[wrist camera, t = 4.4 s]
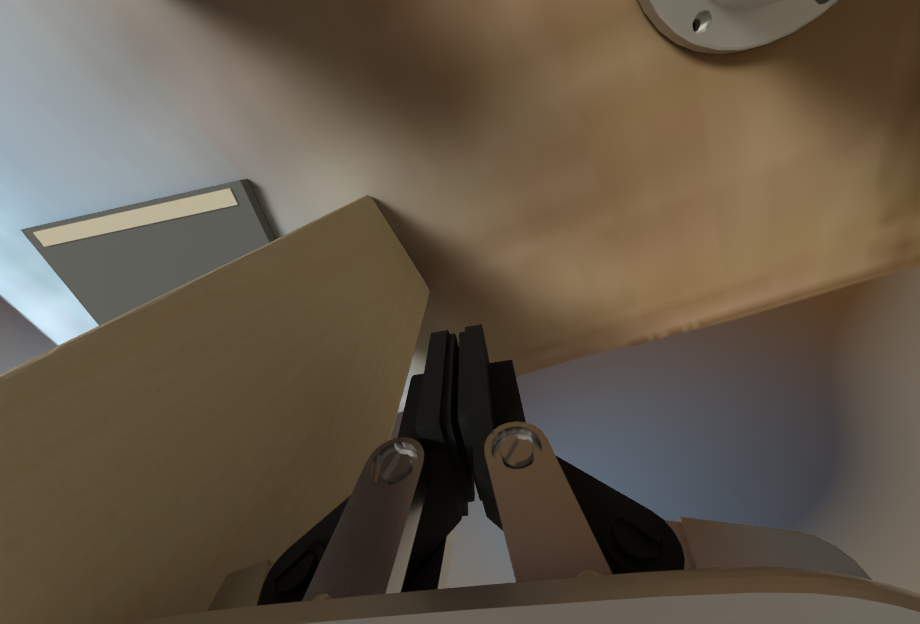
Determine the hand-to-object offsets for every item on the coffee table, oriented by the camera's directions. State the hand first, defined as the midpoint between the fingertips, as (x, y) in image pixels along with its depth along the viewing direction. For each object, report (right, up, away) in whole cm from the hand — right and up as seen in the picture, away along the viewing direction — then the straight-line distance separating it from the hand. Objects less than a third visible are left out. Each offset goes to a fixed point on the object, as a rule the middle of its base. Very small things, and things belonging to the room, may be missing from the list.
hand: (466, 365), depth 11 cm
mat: (-20, +3, +14) cm, 25 cm away
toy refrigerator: (-7, +5, +13) cm, 16 cm away
